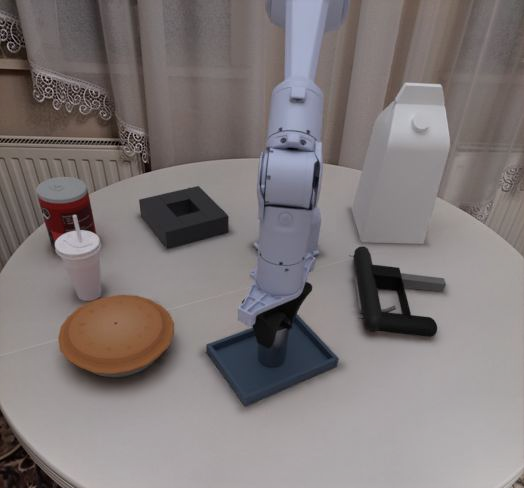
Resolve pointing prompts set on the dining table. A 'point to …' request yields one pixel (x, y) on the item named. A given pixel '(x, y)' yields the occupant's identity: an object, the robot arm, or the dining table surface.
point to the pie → (116, 335)
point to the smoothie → (81, 261)
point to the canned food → (65, 206)
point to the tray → (270, 378)
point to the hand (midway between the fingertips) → (274, 334)
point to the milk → (403, 167)
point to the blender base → (183, 216)
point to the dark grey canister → (276, 346)
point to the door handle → (393, 279)
